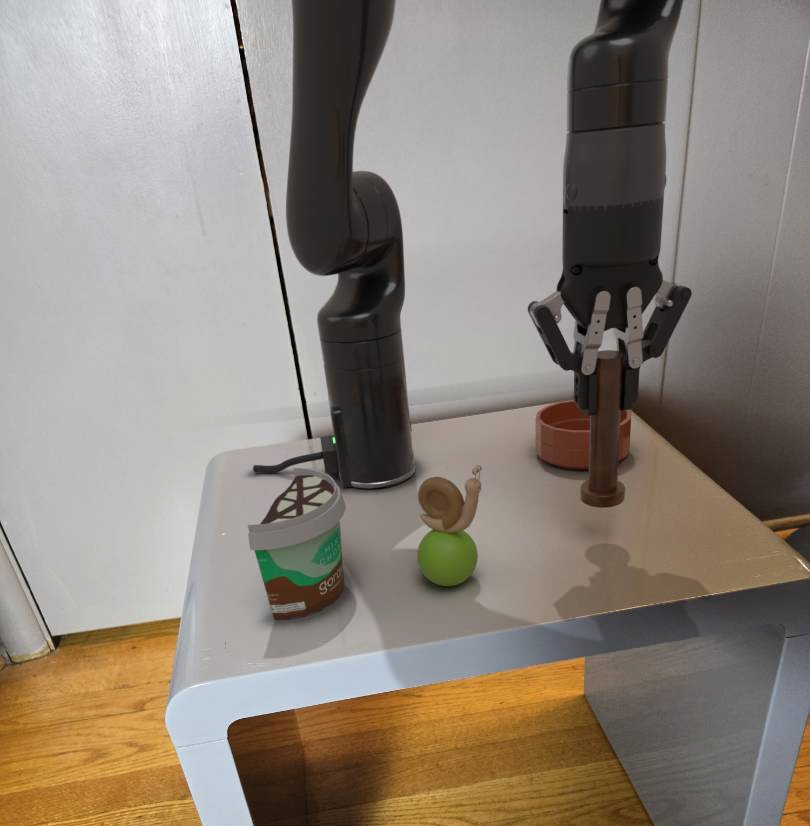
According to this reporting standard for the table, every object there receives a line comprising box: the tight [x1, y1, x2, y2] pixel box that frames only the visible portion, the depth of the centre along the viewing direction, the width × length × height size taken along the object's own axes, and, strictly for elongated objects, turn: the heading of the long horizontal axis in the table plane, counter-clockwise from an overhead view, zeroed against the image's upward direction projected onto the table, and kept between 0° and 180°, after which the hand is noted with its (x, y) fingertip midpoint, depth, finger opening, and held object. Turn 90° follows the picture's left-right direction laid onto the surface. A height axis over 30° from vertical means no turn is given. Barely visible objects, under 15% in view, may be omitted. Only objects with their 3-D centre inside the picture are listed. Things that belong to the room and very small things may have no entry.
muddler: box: [579, 349, 626, 509], centre depth 66 cm, size 4×4×14 cm
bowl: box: [535, 399, 632, 470], centre depth 89 cm, size 11×11×5 cm
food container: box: [247, 467, 347, 620], centre depth 66 cm, size 12×6×10 cm, turn 168°
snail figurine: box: [416, 464, 483, 587], centre depth 65 cm, size 5×6×12 cm
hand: (604, 409), depth 65 cm, fingers closed on muddler, 2 cm apart
